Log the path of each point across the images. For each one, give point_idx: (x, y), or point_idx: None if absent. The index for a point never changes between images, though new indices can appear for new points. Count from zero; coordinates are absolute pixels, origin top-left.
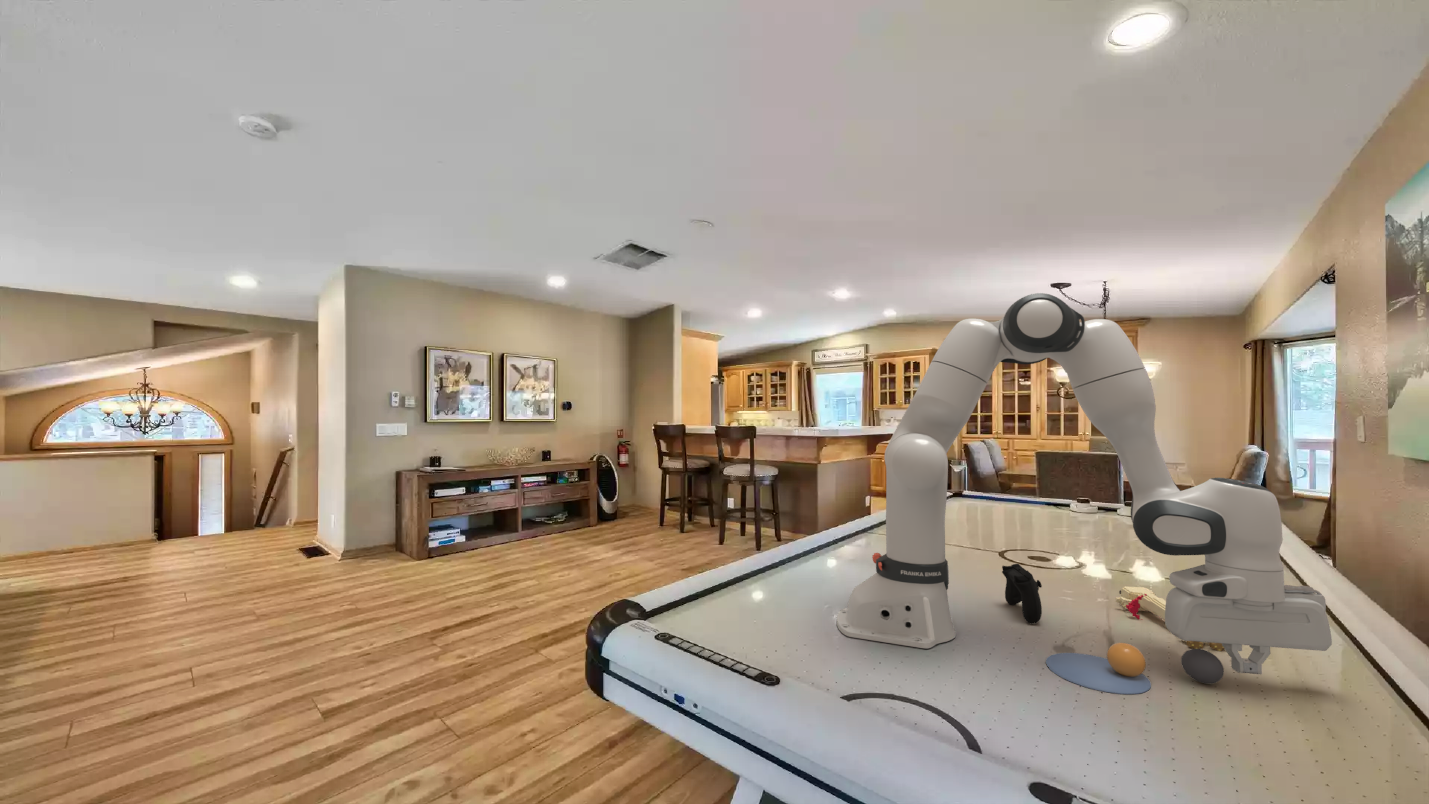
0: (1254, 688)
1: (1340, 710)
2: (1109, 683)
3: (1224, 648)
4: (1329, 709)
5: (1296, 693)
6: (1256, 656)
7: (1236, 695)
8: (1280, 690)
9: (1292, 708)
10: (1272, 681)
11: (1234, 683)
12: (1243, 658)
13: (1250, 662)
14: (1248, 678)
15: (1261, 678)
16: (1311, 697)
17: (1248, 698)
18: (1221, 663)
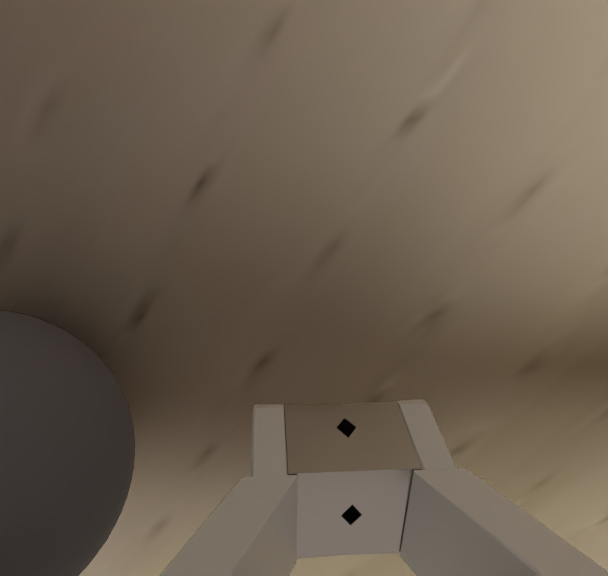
0: (346, 386)
1: (594, 523)
2: None
3: (177, 557)
4: (548, 526)
5: (561, 396)
6: (450, 572)
7: (161, 493)
8: (497, 378)
9: (365, 554)
10: (581, 248)
11: (260, 341)
12: (367, 472)
13: (359, 541)
14: (438, 231)
15: (546, 209)
16: (599, 426)
17: (209, 510)
18: (88, 562)
